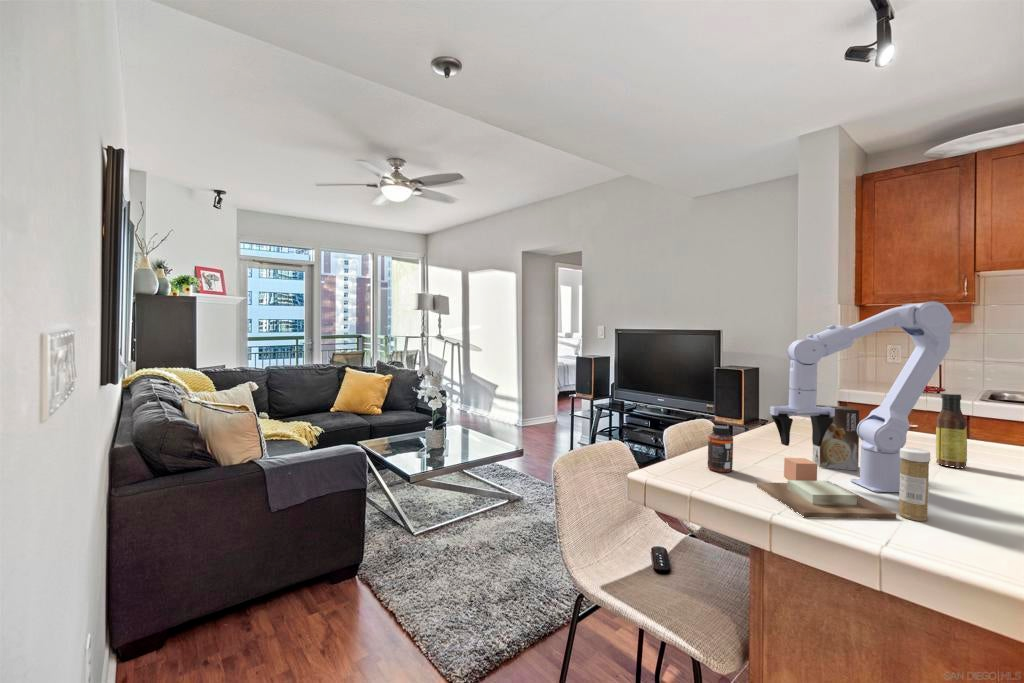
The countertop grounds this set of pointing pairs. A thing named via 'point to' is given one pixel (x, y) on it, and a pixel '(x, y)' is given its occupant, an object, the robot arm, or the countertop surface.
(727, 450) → the supplement bottle
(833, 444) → the coffee box
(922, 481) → the sprinkles bottle
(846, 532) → the countertop surface
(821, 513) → the walnut base board
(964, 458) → the sauce bottle
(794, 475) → the terracotta cube
